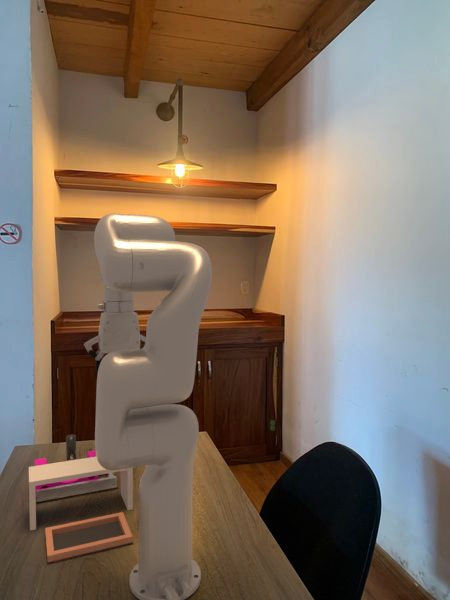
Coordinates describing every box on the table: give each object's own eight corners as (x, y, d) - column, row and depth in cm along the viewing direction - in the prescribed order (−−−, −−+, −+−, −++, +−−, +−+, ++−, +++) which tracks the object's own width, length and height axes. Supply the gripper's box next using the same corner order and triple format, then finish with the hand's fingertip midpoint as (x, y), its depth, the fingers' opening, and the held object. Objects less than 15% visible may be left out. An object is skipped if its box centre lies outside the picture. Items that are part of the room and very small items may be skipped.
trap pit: (132, 543, 91) (132, 536, 91) (47, 563, 85) (47, 556, 84) (122, 518, 100) (122, 511, 100) (45, 535, 94) (45, 528, 94)
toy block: (35, 500, 108) (35, 469, 108) (35, 488, 114) (34, 459, 114) (99, 488, 114) (99, 459, 114) (96, 477, 120) (95, 450, 120)
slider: (116, 487, 113) (116, 454, 113) (36, 502, 106) (36, 466, 105) (104, 459, 130) (104, 430, 130) (35, 470, 123) (34, 439, 122)
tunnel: (132, 509, 104) (132, 464, 103) (30, 530, 95) (29, 482, 94) (125, 493, 111) (125, 451, 111) (29, 511, 102) (28, 466, 102)
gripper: (85, 309, 109) (86, 379, 110) (155, 308, 116) (155, 373, 117) (82, 307, 116) (82, 373, 117) (148, 305, 123) (148, 367, 124)
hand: (119, 373), depth 117 cm, fingers open, 9 cm apart
